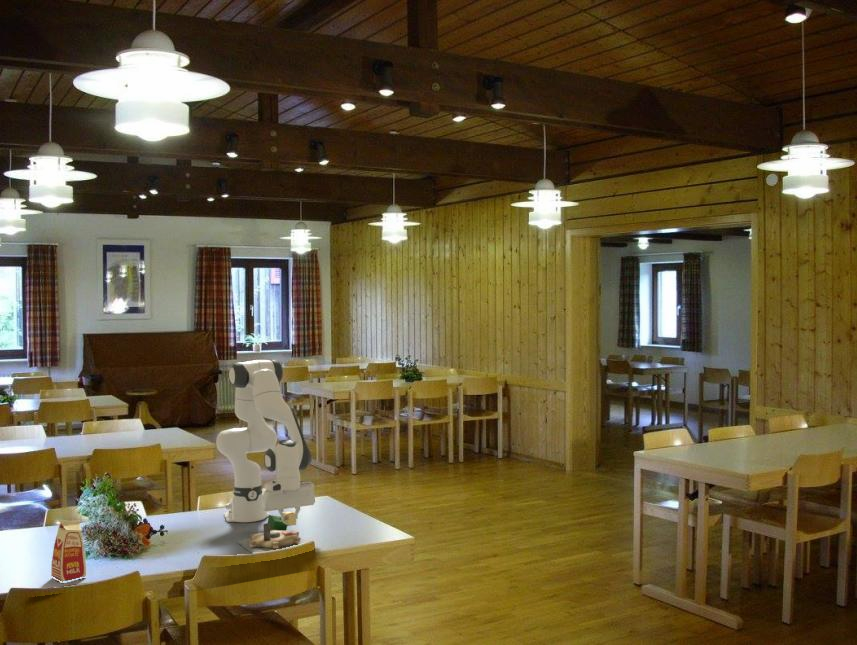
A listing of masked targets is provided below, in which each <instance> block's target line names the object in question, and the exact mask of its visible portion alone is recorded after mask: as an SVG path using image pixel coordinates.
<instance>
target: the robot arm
mask: <svg viewBox="0 0 857 645" xmlns="http://www.w3.org/2000/svg"><path fill="white" fill-rule="evenodd" d="M283 375H284V370H283V366H282V363H281V362H280V361H279V360H276V359H255V360H249V361H248V360H247V361H243V362H241V361H239V362H235V363H233V364H232V365H231V366H230V367H229V372H228V376H229V382H230V384H231V385H232V386H233V388H235V393H234V394H235V395H234V414H235V416H236V417H237V418H238V419H239V420H241V421H242V422H243V421H244V422H246V423H247V427H236V428H229V429H225V430H221V431H220V432H219V433H218V434H217V437H216V441H215V445H216V449H217V450H218V451H219V452H220V453H221V454H222V455H223V456H225V457H226V458H227V459H228V460H229V461H230V463H231V466H232V469H233V475H234V476H233V477H234V486H233V490H232V494H233V496H231V499H230V500H229V501H228V503H226V505H225V508H226V510H228V511H224V512H223V516H224V518H226V519H225V521H226V522H227V523H228V522H230V523H253V522H258V521H262V520H265V519H266V518H269V515H271V513H270V511H271V512H272V511H278V513H279V515H280V517H281V520H282V521H286V520H287V519H286V518H287V516H286V515H284V514H283V512H285V511H284V510H286V509H295V511H294V512H293V513H294V514H296V520H298V516H299V513H300V511H301V507H306V506H307V507H308V506H314V504H315V503H316V496H315V484H314V482H313V481H311V480H307V481H301V473H300V472H301V471H305V470H306V469H307V468H308V467H309V466H310V464H311V463H312V452H311V450H310V448H309V446H308V444H307V442H306V439H305V437H304V434H303V430H302V429H301V427H300V423H299V421H298V417H297V415H296V413H295V411H294V410H293V408H292V407H291V406H290V405H288V404H287V402H285V399H284V397H283V395H282V391H281V390H282V389H281V386H280V382H281V381H282V379H283ZM265 418H266V419H268V420H273V421H276V422H279V423H280V424H282V425H284V426H285V428H286V430H287V432H288V435H289V437H290V439H283V440H279V441H278V435H277V432H276V430H275V429H274V428H273V427H271V426H270V425H269V424H268V423H267V422H266V420H265ZM252 453H253V454H255V453H264V455H263V461H264V462H263V463H264V464H263V465H264V467H265V469H267V471H269V472H272V473H276V478H274V479H273V480H271V481H268V482H266V483H264V489H265V490H264V492H263V484H262V470H261V466H260V465H259V464H258V463H257V462H255V461H253V460H250V459H248V455H247V454H252Z"/></svg>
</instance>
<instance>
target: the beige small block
mask: <svg viewBox="0 0 857 645" xmlns="http://www.w3.org/2000/svg"><path fill="white" fill-rule="evenodd" d="M282 513H283V514H284V515H286V516H287V518H286V519H287V520H286V521H283V523H284V524H286V525H288V526H287V527H292V526H297V519H296V514H294V513H295V512H293V511H284V512H282Z"/></svg>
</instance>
